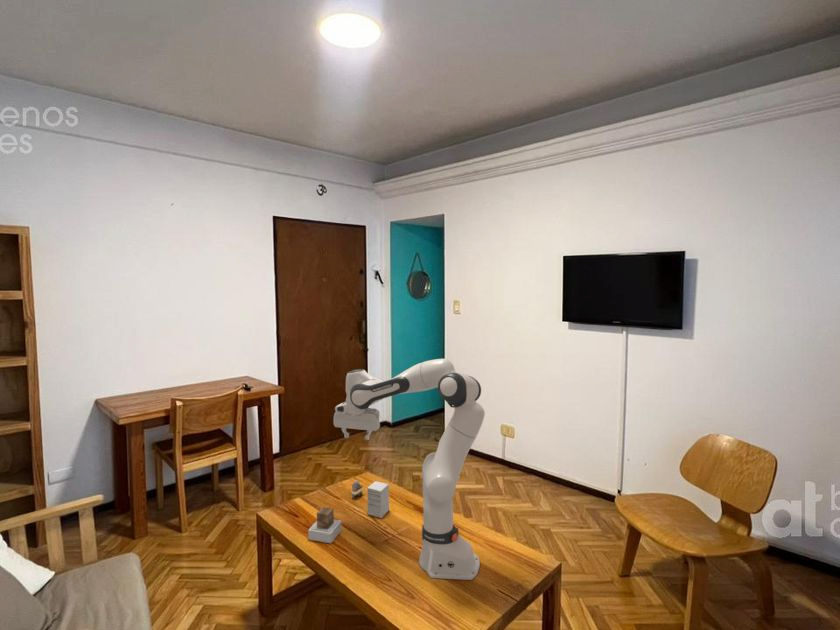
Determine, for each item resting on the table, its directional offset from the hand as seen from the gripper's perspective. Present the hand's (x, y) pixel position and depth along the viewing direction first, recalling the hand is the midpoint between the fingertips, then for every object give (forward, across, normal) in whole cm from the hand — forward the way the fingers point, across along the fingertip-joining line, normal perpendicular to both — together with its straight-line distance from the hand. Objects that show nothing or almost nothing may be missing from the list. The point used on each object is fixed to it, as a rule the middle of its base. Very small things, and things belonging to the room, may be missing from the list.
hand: (356, 438), depth 193 cm
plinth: (+37, +9, +13) cm, 40 cm away
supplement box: (+37, -6, -9) cm, 39 cm away
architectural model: (+38, +9, -21) cm, 44 cm away
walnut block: (+33, +9, +13) cm, 36 cm away
